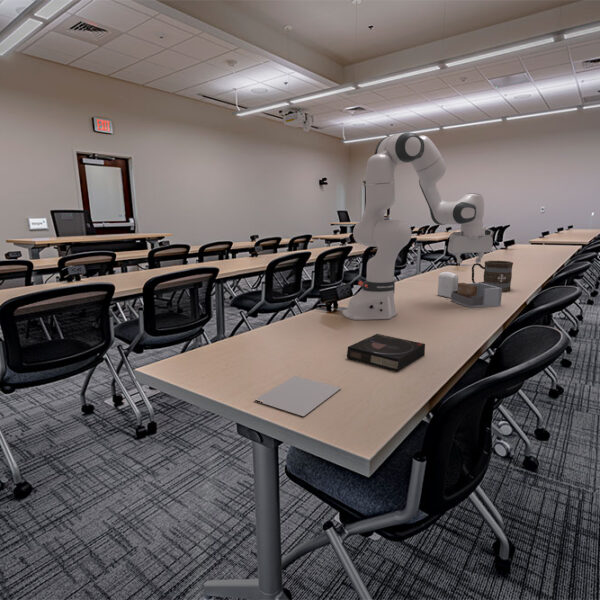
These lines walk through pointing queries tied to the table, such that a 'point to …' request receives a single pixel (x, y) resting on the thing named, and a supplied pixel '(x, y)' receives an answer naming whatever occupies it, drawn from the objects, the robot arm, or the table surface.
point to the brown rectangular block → (466, 290)
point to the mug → (496, 274)
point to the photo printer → (447, 284)
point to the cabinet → (480, 296)
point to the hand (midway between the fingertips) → (468, 262)
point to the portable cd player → (386, 352)
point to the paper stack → (298, 395)
